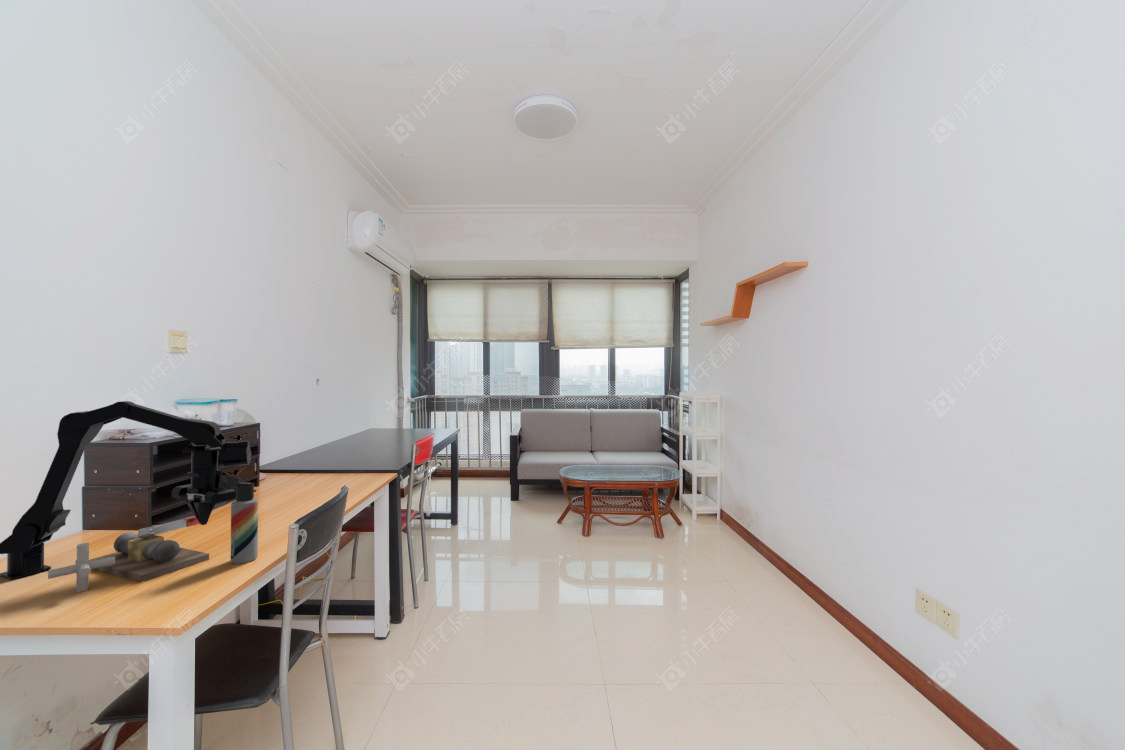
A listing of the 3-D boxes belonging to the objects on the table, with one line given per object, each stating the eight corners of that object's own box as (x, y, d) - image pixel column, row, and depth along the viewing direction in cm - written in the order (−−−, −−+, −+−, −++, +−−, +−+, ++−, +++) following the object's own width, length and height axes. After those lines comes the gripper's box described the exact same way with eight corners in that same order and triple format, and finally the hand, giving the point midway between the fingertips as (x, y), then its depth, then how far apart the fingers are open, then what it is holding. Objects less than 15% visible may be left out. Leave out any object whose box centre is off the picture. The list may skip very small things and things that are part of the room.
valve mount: (85, 566, 111) (85, 540, 111) (153, 547, 124) (154, 524, 124) (141, 581, 102) (142, 553, 102) (209, 559, 115) (209, 534, 115)
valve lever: (142, 539, 112) (142, 531, 112) (135, 537, 113) (135, 529, 113) (208, 521, 126) (208, 514, 126) (201, 520, 127) (201, 513, 127)
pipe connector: (111, 576, 105) (112, 533, 106) (117, 588, 99) (117, 542, 99) (46, 591, 98) (47, 545, 98) (48, 605, 91) (49, 556, 92)
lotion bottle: (225, 562, 113) (225, 483, 113) (247, 554, 118) (248, 479, 119) (240, 565, 111) (241, 485, 112) (262, 557, 116) (263, 480, 117)
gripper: (257, 464, 127) (256, 520, 126) (214, 460, 134) (214, 513, 133) (214, 472, 116) (213, 532, 116) (170, 467, 123) (169, 524, 123)
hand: (203, 524), depth 122 cm, fingers closed
